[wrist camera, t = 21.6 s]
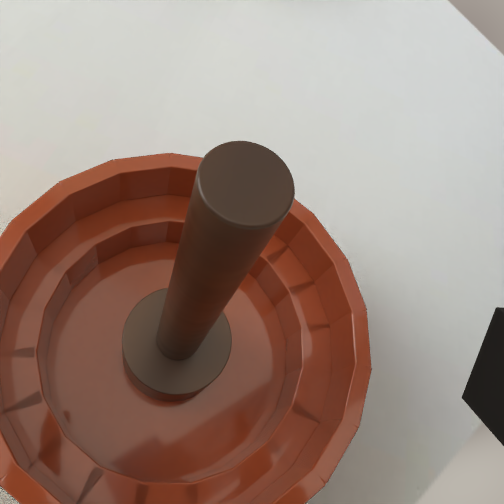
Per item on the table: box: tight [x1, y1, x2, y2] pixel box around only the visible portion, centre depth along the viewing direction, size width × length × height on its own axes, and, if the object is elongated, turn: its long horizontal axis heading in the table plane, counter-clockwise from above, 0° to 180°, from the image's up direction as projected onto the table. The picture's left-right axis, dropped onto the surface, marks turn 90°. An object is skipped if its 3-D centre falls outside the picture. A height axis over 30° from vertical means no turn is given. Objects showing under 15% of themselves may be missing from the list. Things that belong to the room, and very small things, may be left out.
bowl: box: [0, 153, 372, 504], centre depth 22 cm, size 17×17×6 cm
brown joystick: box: [122, 141, 295, 402], centre depth 17 cm, size 5×5×17 cm
